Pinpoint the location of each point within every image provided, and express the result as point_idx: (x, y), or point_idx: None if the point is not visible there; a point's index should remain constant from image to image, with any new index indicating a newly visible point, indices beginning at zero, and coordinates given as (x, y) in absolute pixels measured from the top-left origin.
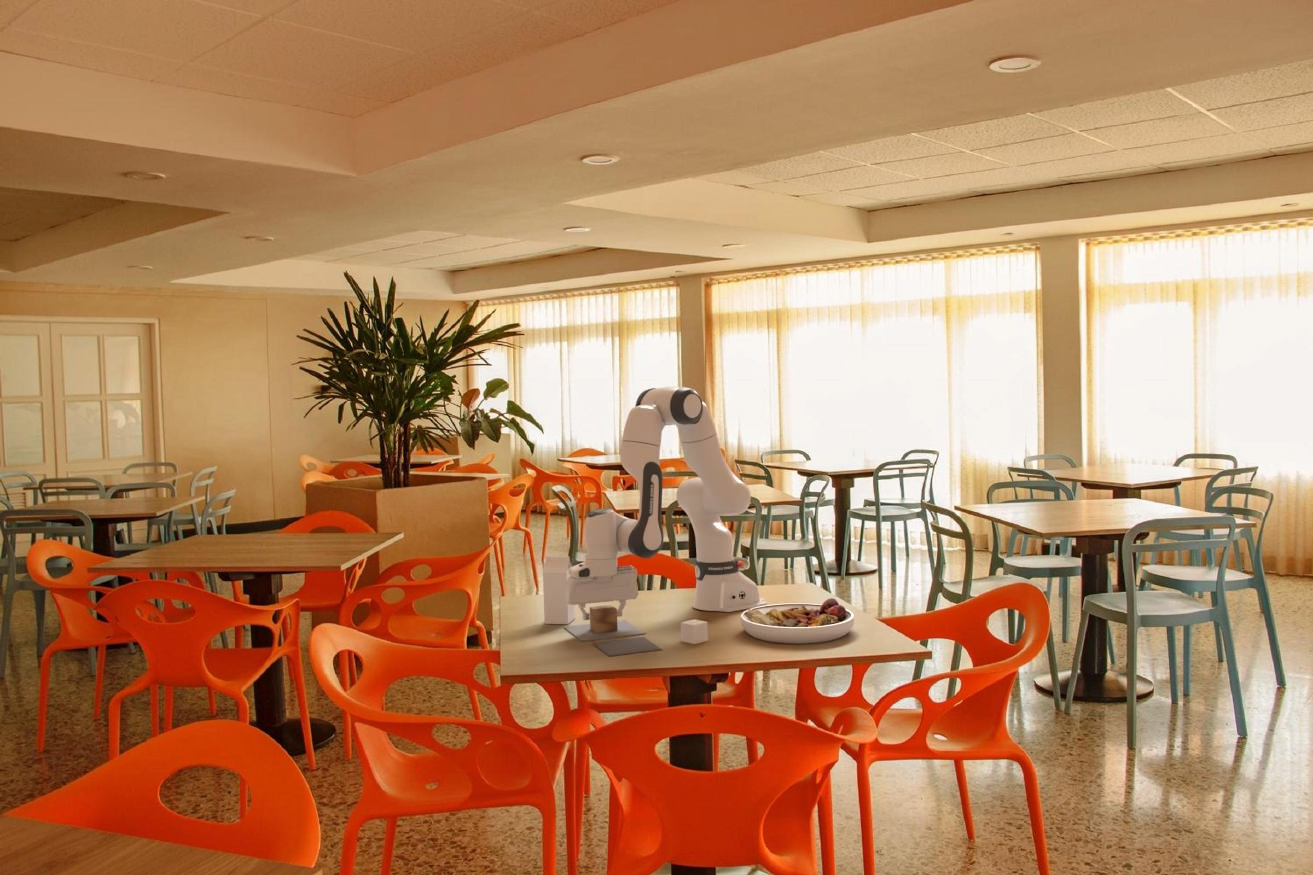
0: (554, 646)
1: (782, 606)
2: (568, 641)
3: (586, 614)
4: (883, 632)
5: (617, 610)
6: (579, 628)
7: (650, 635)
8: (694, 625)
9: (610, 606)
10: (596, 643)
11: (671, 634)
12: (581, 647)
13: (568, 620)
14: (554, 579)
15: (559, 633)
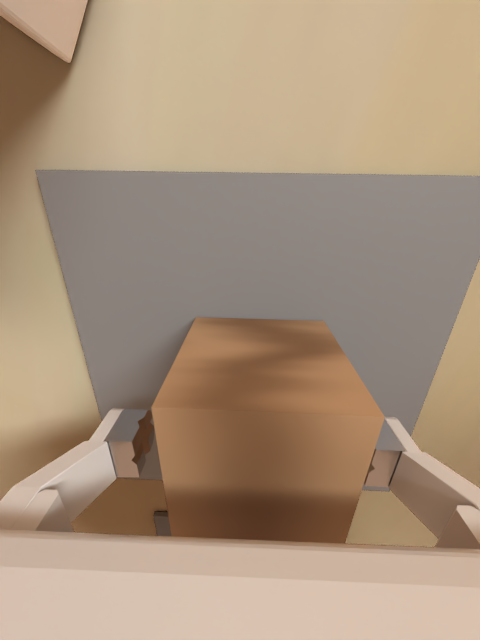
0: (16, 482)
1: None
2: (68, 450)
3: (118, 470)
4: None
5: (370, 478)
6: (136, 278)
7: (389, 505)
8: None
9: (344, 473)
10: (163, 522)
11: None
12: (110, 523)
13: (54, 42)
14: None
15: (21, 308)
